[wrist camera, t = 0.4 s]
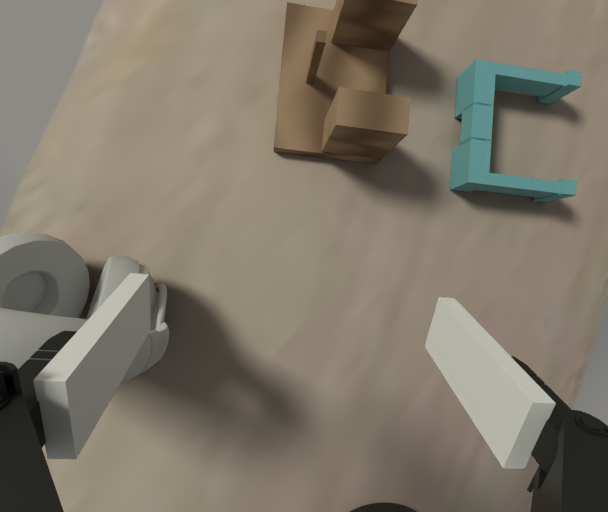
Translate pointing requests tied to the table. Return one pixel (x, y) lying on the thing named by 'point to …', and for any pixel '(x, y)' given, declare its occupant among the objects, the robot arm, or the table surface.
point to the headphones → (63, 297)
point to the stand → (341, 81)
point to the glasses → (479, 118)
